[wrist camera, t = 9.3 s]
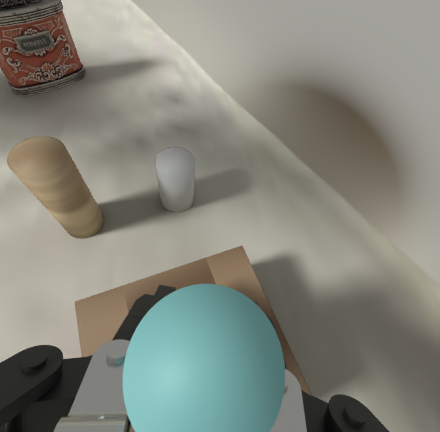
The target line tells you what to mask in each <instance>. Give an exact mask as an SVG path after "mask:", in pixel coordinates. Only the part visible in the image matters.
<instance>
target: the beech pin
mask: <svg viewBox="0 0 440 432" xmlns="http://www.w3.org/2000/svg"><path fill="white" fill-rule="evenodd" d="M7 163H8V166H9V168H10V169H11V170H12V171H13V172H14V173H15V174H16V175H17V177H18V178H19V179H20V180H21V181H22V182H23V183H24V184H25V185H26V187H27V188H28V189H29V190H30V191H31V192H32V193H33V194H34V196H35V197H36V198H37V199H38V200H39V201H40V202H41V203H42V204H43V206H44V207H45V208H46V209H47V210H48V211H49V212H50V213H51V214H52V216H53V217H54V218H55V219H56V220H57V221H58V222H59V223H60V224H61V226H62V227H63V228H64V229H65V230H66V231H67V232H68V233H69V234H70V235H71V236H73V237H75V238H88V237H91V236H93V235H95V234H96V233H97V232H98V231H99V230H100V229H101V228H102V226H103V224H104V216H103V214H102V212H101V210H100V208H99V207H98V205H97V203H96V201H95V199H94V198H93V196H92V194H91V192H90V191H89V189H88V187H87V185H86V183H85V182H84V180H83V178H82V176H81V174H80V173H79V171H78V169H77V167H76V165H75V164H74V162H73V160H72V158H71V156H70V155H69V153H68V151H67V149H66V147H65V146H64V144H63V143H62V142H61V141H59V140H58V139H55V138H52V137H46V136H40V137H33V138H29V139H27V140H24V141H22V142H20V143H19V144H17V145H16V146H15V147H14V148H13V149H12V150H11V151H10V153H9V155H8V158H7Z"/></svg>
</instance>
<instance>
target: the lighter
mask: <svg viewBox="0 0 440 432" xmlns="http://www.w3.org/2000/svg"><path fill="white" fill-rule="evenodd" d="M62 9H63V5H62V2H61V0H0V68H1V69H2V71H3V73H4V74H5V76H6V77H7V79H8V81H9V82H8V83H9V85H10V87H11V89H12V90H13V92H14V93H15V94H16V95H19V96H30V95H35V94H40V93H45V92H48V91H52V90H56V89H59V88H62V87H64V86H67V85H70V84H72V83H74V82H77V81H79V80H81V79H83V78H84V77H85V76H86V72H85V69H84V66H83V64H82V63H81V62H80V59H79V57H78V54H77V51H76V48H75V45H74V42H73V39H72V37H71V34H70V31H69V28H68V25H67V22H66V19H65V17H64V14H63V11H62Z"/></svg>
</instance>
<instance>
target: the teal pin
mask: <svg viewBox="0 0 440 432" xmlns="http://www.w3.org/2000/svg"><path fill="white" fill-rule="evenodd" d="M284 387H285V364H284V358H283V352H282V348H281V345H280V341H279V339H278V336H277V334H276V331H275V329H274V327H273V326H272V324H271V322H270V320H269V319H268V318H267V316H266V315H265V313H264V312H263V311H262V310H261V309H260V308H259V306H257V305H256V304H255V303H254V302H253V301H252V300H251V299H249V298H248V297H247V296H245V295H244V294H242V293H240V292H238V291H236V290H234V289H231V288H229V287H226V286H222V285H216V284H197V285H191V286H187V287H184V288H181V289H179V290H176V291H174V292H172V293H170V294H169V295H167V296H165V297H164V298H163V299H161V300H160V301H159V302H157V303H156V304H155V305H154V306H153V307H152V308H151V309H150V310H149V311H148V312H147V314H146V315H145V316H144V317H143V319H142V320H141V322H140V323H139V325H138V326H137V328H136V330H135V332H134V334H133V336H132V338H131V341H130V343H129V346H128V349H127V353H126V357H125V361H124V369H123V394H124V402H125V406H126V410H127V414H128V417H129V419H130V422H131V424H132V427H133V429H134V430H135V432H270V430H271V429H272V427H273V425H274V423H275V421H276V418H277V416H278V414H279V410H280V407H281V404H282V400H283V394H284Z"/></svg>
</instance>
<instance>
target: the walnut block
mask: <svg viewBox="0 0 440 432" xmlns="http://www.w3.org/2000/svg"><path fill="white" fill-rule="evenodd" d="M197 284H216V285H222V286H226V287H229V288H231V289H234V290H236V291H238V292H240V293H242V294H244V295H245V296H247V297H248V298H249V299H251V300H252V301H257V303H258V306H259V308H260V309H261V310H262V311H263V312H264V313H265V315H268V316H269V318H270V319H271V320H272V321H273V323H274V324H275V328H276V332H277V335H278V339H279V341H280V345H281V348H282V352H283V356H284V360H285V363H286V367H287V370H288V371H290V372H291V373H292V374H293V375H294V376H295V377H296V379H297V380H298V382H299V384H300V386H301V390H303V391H304V392H306V393H307V394H309V395H311V392H310V390H309V388H308V386H307V384H306V382H305V379H304V377H303V375H302V373H301V371H300V369H299V367H298V364H297V362H296V360H295V358H294V356H293V354H292V352H291V349H290V347H289V345H288V343H287V341H286V339H285V337H284V334H283V332H282V330H281V328H280V326H279V324H278V322H277V319H276V317H275V315H274V313H273V311H272V309H271V306H270V304H269V302H268V300H267V298H266V296H265V294H264V291H263V289H262V287H261V285H260V283H259V281H258V279H257V276H256V274H255V272H254V270H253V268H252V266H251V264H250V261H249V259H248V257H247V255H246V253H245V251H244V249H243V246H239V247H236V248H233V249H231V250H228V251H225V252H222V253H219V254H216V255H213V256H210V257H207V258H204V259H201V260H198V261H195V262H192V263H189V264H186V265H183V266H180V267H177V268H174V269H171V270H168V271H165V272H162V273H159V274H156V275H153V276H150V277H147V278H144V279H141V280H138V281H135V282H132V283H129V284H126V285H123V286H120V287H117V288H114V289H111V290H109V291H106V292H103V293H100V294H97V295H94V296H91V297H88V298H85V299H82V300H79V301H76V302H75V308H76V315H77V323H78V331H79V338H80V346H81V354H82V357H87V356H91V355H93V354H94V352H95V351H96V350H97V349H98V348H99V347H100V346H101V345H103V344H104V343H106V342H109V341H112V339H113V338H114V336H115V334H116V333H117V331H118V329H119V328H120V326H121V324H122V323H123V321H124V319H125V318H126V316H127V315H128V313H129V311H130V309H131V308H132V306H133V304H134V303H135V301H136V300H137V299H138V298H140V297H141V296H143V295H144V294H149V295H154V294H155V292H156V290H157V288H158V286H159V285H165V286H171V287H176V290H179V289H181V288H184V287H187V286H191V285H197ZM311 396H312V395H311ZM130 432H135V430H134V429H133V427H132V424H131V428H130Z"/></svg>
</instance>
